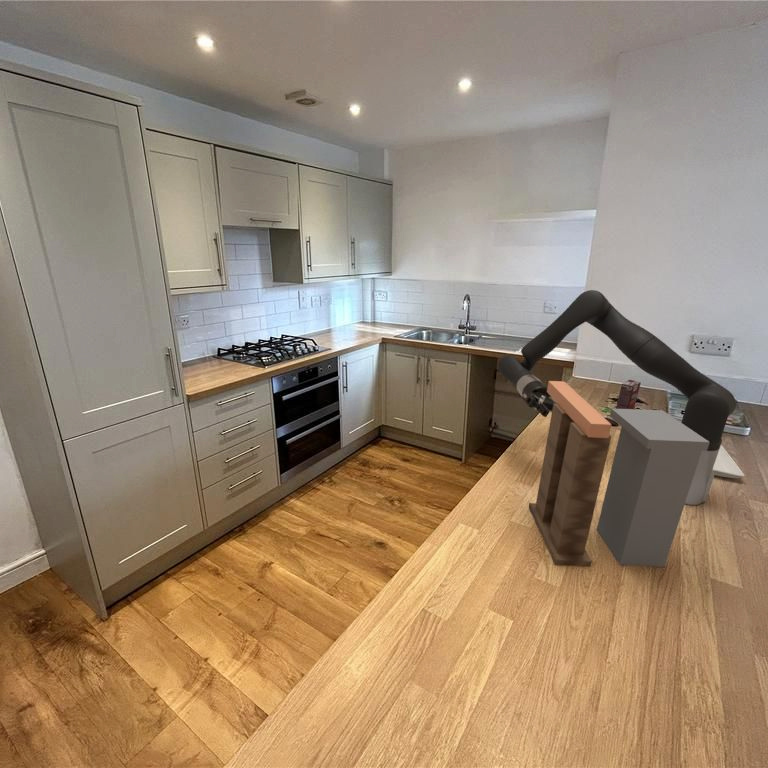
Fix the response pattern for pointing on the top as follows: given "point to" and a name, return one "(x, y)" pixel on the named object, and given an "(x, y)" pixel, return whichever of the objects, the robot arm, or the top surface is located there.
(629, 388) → the supplement box
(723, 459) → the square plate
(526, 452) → the top surface
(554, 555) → the gate
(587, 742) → the top surface
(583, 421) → the beam
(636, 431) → the pedestal
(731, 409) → the robot arm
